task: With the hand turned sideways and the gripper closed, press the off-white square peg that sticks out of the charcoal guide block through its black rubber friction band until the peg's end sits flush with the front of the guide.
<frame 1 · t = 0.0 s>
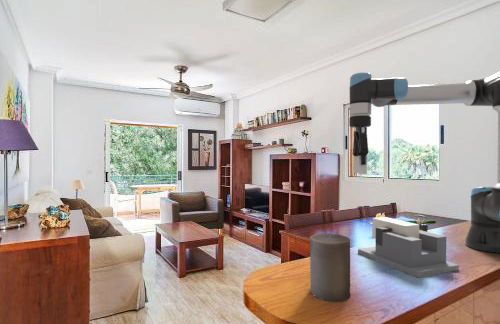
hand: (359, 173, 113), 28 cm above the table, tool pointing down, fingers open, 13 cm apart
peg: (394, 231, 104), point 9 cm above the table, slide at 6.0 cm
pillar candle: (329, 293, 76), on the table
cup: (416, 245, 119), on the table
guide: (409, 262, 98), on the table
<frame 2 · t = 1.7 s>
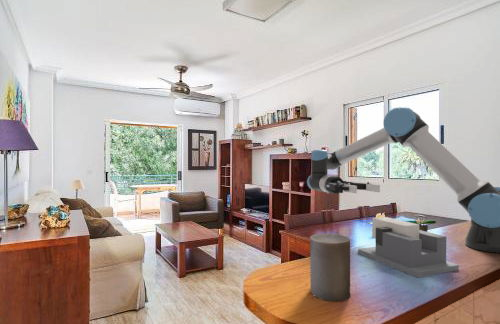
hand: (367, 189, 116), 22 cm above the table, tool horizontal, fingers open, 10 cm apart
nothing on the table moved.
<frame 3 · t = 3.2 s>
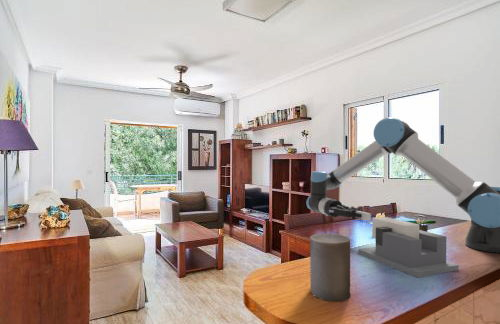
hand: (369, 217, 114), 12 cm above the table, tool horizontal, fingers closed
nothing on the table moved.
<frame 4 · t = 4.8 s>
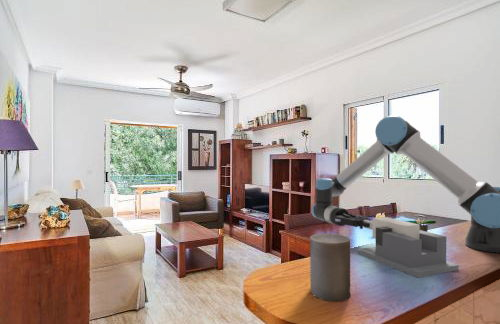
hand: (377, 227, 110), 9 cm above the table, tool horizontal, fingers closed
peg: (394, 231, 104), point 9 cm above the table, slide at 5.9 cm, touching gripper
everything else where it was.
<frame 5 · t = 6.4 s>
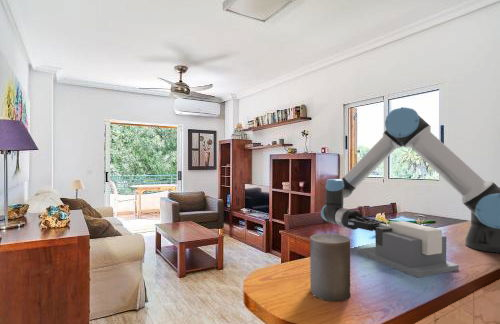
hand: (395, 231, 103), 9 cm above the table, tool horizontal, fingers closed
peg: (414, 236, 97), point 9 cm above the table, slide at -1.7 cm, touching gripper
everything else where it was.
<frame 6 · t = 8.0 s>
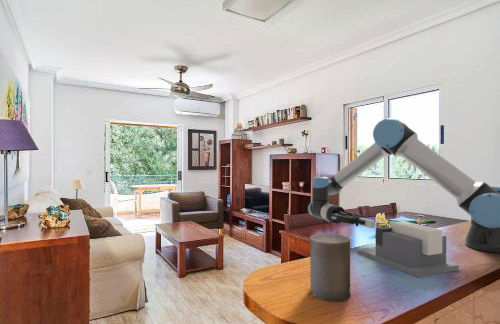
hand: (373, 224, 113), 9 cm above the table, tool horizontal, fingers closed
peg: (414, 236, 96), point 9 cm above the table, slide at -1.8 cm
everything else where it was.
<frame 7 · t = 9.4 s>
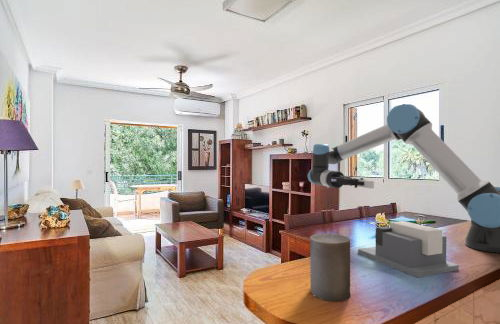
hand: (372, 184, 115), 24 cm above the table, tool horizontal, fingers closed
nothing on the table moved.
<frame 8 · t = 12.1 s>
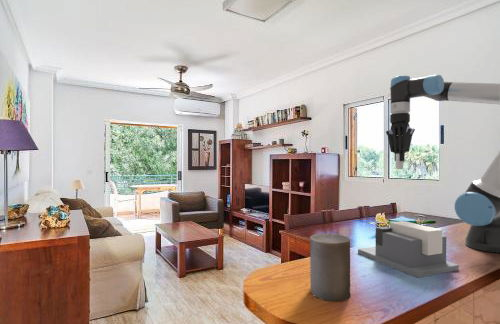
hand: (399, 168, 130), 29 cm above the table, tool pointing down, fingers closed
nothing on the table moved.
at the end: peg slide at -1.8 cm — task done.
